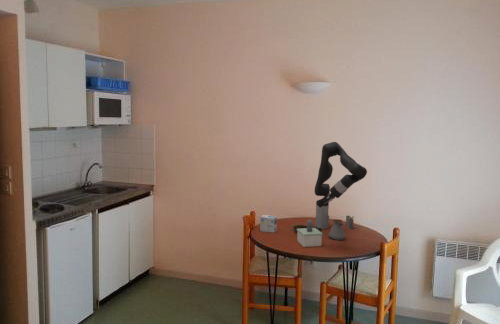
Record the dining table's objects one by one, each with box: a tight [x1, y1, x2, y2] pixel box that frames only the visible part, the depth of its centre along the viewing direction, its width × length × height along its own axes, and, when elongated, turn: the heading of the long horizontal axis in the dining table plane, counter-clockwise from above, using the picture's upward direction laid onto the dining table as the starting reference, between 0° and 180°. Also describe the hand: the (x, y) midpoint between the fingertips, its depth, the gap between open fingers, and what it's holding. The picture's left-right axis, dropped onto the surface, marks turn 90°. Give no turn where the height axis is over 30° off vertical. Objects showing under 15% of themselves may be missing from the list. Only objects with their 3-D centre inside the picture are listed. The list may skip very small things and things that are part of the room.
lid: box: [296, 219, 324, 236], centre depth 256 cm, size 13×13×9 cm
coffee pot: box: [328, 219, 346, 242], centre depth 264 cm, size 21×12×15 cm, turn 178°
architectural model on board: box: [345, 215, 355, 230], centre depth 299 cm, size 11×3×10 cm, turn 1°
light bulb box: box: [259, 214, 278, 234], centre depth 285 cm, size 11×7×11 cm, turn 71°
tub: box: [296, 231, 323, 248], centre depth 257 cm, size 12×12×8 cm
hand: (321, 205), depth 251 cm, fingers open, 8 cm apart
